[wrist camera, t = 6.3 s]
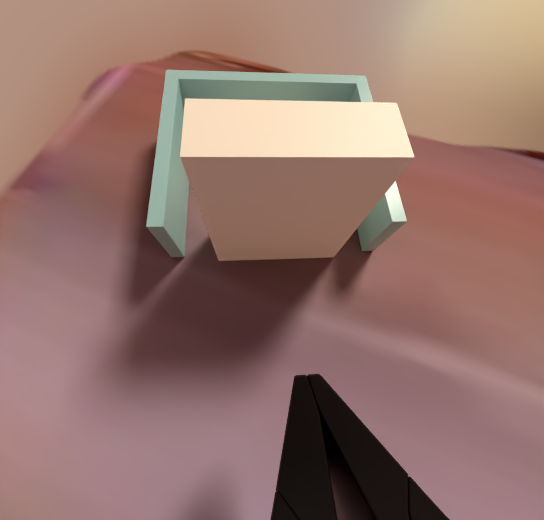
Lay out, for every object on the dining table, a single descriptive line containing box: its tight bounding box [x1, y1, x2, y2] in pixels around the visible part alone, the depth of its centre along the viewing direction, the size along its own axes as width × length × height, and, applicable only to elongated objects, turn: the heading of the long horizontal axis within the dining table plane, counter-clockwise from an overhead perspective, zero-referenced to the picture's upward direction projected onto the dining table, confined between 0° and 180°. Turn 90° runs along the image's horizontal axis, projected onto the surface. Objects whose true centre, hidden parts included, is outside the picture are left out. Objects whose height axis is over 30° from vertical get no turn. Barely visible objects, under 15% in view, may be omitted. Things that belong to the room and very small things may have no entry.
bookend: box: [180, 98, 414, 261], centre depth 14 cm, size 10×8×9 cm
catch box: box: [146, 70, 407, 257], centre depth 17 cm, size 11×13×4 cm
